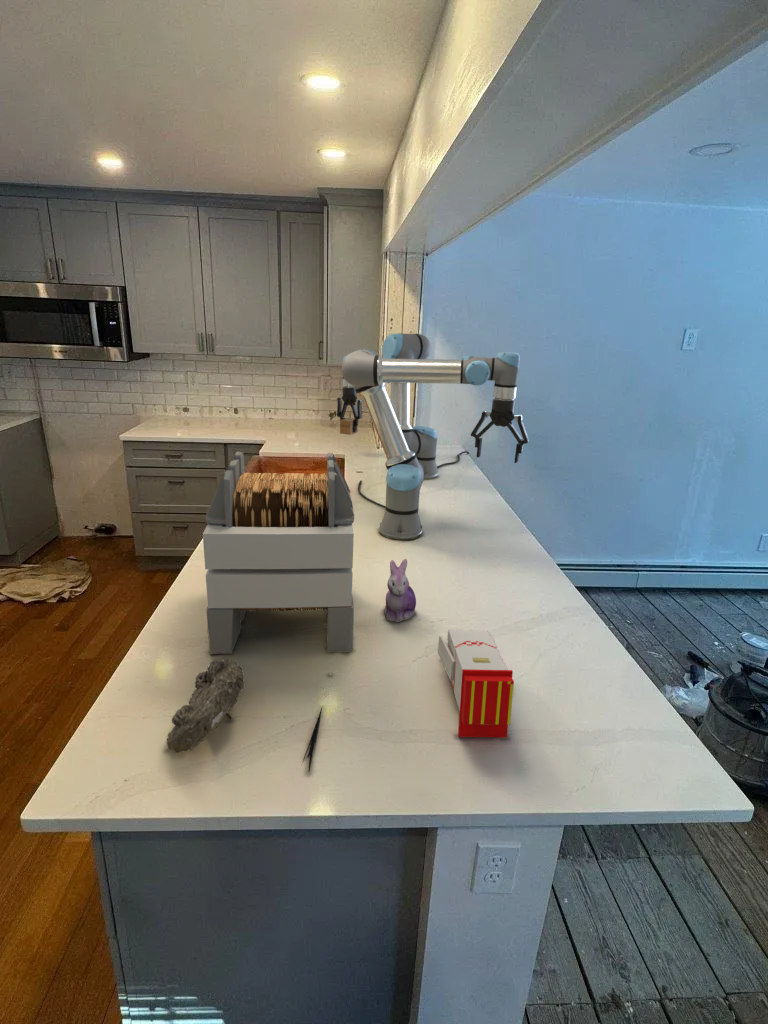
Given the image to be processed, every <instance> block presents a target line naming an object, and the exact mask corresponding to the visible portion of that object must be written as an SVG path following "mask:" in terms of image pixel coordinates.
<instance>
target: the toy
mask: <svg viewBox="0 0 768 1024" xmlns="http://www.w3.org/2000/svg"><path fill="white" fill-rule="evenodd" d="M446 640H447V643H446V641H445V639H444V636H443V635H442V634H439V637H438V646H437V656H438V657H439V659H440V661H441V663H442V666H443V668H444V670H445V672H446V674H447V677H448V679H449V681H450V684H451V687H452V690H453V693H454V697H455V701H456V705H457V708H458V711H459V714H458V715H459V716H458V730H457V731H458V732H457V737H458V738H508V731H509V726H510V725H511V717H512V707H513V697H514V696H513V695H514V684H515V680H514V679H513V673H514V671H513V670H512V669H508V667H507V665H506V662H505V661H504V659H503V658H502V655H501V653H500V651H499V649H498V647H497V643H496V639H495V637H494V635H493V634H491V632H490V631H489V629H467V628H466V629H465V628H463V629H461V628H460V629H459V628H448V630H447V639H446Z"/></svg>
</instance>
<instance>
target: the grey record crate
mask: <svg viewBox="0 0 768 1024" xmlns="http://www.w3.org/2000/svg"><path fill="white" fill-rule="evenodd" d="M244 455H245V454H244V451H242V452H241V451H236V452H235V454H234V456H233V458H232V459H230V463H229V465H228V467H227V469H226V470H224V473H223V475H222V478H221V479H220V482H219V484H218V487H217V489H216V491H215V494H214V495H213V497H212V500H211V502H210V505H209V507H208V509H207V511H206V515H205V523H206V524H207V525H206V527H205V529H204V531H203V533H202V543H203V558H204V569H205V570H206V573H205V584H206V587H205V588H206V598H207V599H206V601H207V607H206V623H207V634H208V641H209V642H208V643H209V650H208V653H209V655H216V654H217V655H218V654H221V655H222V654H223V655H226V654H227V655H228V654H230V655H231V654H232V653H233V650H234V648H235V647H236V643H237V641H238V638H239V636H240V634H241V630H242V626H241V625H242V623H241V622H243V621H244V618H245V615H246V612H272V611H273V612H279V611H280V612H284V611H286V612H288V611H289V612H291V611H292V612H293V611H294V612H295V611H303V612H304V611H322V610H323V611H326V636H327V637H326V641H327V645H326V646H327V652H329V653H330V652H332V653H333V652H343V653H349V652H351V651H352V650H354V617H355V616H354V614H355V607H354V598H353V575H354V573H353V566H354V563H353V562H354V537H355V536H354V535H355V532H354V527H353V524H354V522H355V511H354V506H353V505H354V504H353V500H352V495H351V489H350V487H349V485H348V483H347V480H346V479H345V476H344V474H343V472H342V470H341V467H340V465H339V463H338V461H337V459H336V457H335V455H334V453H333V452H327V453H326V456H327V457H326V468H327V469H326V473H320V474H318V473H307V474H306V473H303V472H302V473H299V472H298V473H297V472H294V473H293V472H292V473H291V472H290V473H288V472H283V473H276V472H273V473H271V472H263V473H262V472H259V473H258V472H253V473H252V472H245V468H246V467H245V456H244Z"/></svg>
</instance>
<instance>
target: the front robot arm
mask: <svg viewBox="0 0 768 1024" xmlns="http://www.w3.org/2000/svg"><path fill="white" fill-rule="evenodd" d="M345 356H346V358H345V359H344V361H343V360H342V363H341V374H342V378H343V377H344V378H345V380H346V381H347V382H348V383H349V384H351V385H353V386H354V388H355V391H356V393H357V395H358V396H360V397H362V400H363V401H364V404H365V407H366V410H367V411H368V413H369V417H370V419H371V421H372V422H371V423H372V424H373V426H374V429H375V432H376V434H377V436H378V439H379V442H380V444H381V446H382V449H383V451H384V454H385V457H386V461H385V463H384V465H385V467H386V476H385V482H386V485H385V504H381V503H379V502H377V501H374V500H373V499H371V498H369V497H368V496H366V495H364V494H363V493H362V491H361V484H362V482H363V481H362V480H359V483H358V485H357V492H358V494H359V495H360V496H361V497H362V498H364V499H365V500H367V501H369V502H370V503H372V504H374V505H377V506H379V507H382V508H384V513H383V515H382V519H381V522H379V526H378V533H379V534H380V535H381V536H382V537H385V538H387V539H389V540H395V541H410V540H415V539H418V538H420V537H421V536H422V535H423V525H422V524H421V518H420V515H419V507H420V506H419V505H420V504H419V503H420V494H421V493H420V492H421V489H422V485H423V483H424V481H425V479H424V470H423V467H422V465H421V464H420V463H419V462H418V460H417V457H416V455H415V453H414V452H413V451H410V450H409V448H408V446H407V443H406V441H405V438H404V435H403V433H402V430H401V428H400V425H399V423H398V420H397V417H396V415H395V412H394V410H393V407H392V405H391V398H390V397H389V394H388V392H387V389H386V385H387V384H391V383H410V384H449V385H451V384H453V385H454V384H456V385H457V384H458V385H460V384H461V385H472V386H476V387H477V386H482V385H484V384H485V383H486V382H487V381H491V382H492V381H494V383H493V394H492V397H493V399H492V401H491V402H492V403H491V411H487V410H484V411H482V412H481V416H480V418H479V420H478V421H477V423H476V425H475V427H474V428H473V430H472V431H471V433H470V436H471V437H472V438H474V439H475V440H474V448H475V449H476V458H480V457H481V455H482V445H483V438H482V436H483V435H484V434H485V433H486V432H488V430H489V429H491V428H492V427H493V425H494V426H495V427H502V428H505V427H507V428H508V430H509V431H510V432H511V434H512V435H513V437H514V438H515V440H516V441H517V444H516V446H515V454H514V464H517V463H518V462H519V457H520V454H522V453H523V450H524V444H528V443H530V438H529V435H528V433H527V430H526V429H527V428H526V427H525V425H524V419H523V417H524V416H523V414H517V415H515V414H514V413H515V404H516V401H515V399H516V397H517V387H518V381H519V380H518V378H519V371H520V358H521V355H520V354H519V353H518V352H513V351H499V352H497V355H496V357H487V356H486V357H483V356H473V355H468V356H465V355H464V356H462V357H461V359H434V358H432V359H430V358H429V359H428V358H426V359H384V358H383V355H381V354H380V355H379V354H378V353H377V352H375V351H374V350H373V349H370V348H369V349H368V348H361V349H356V350H355V351H352V352H350V353H348V354H347V355H345ZM487 418H490V419H491V421H490V422H489V423H488V424H487V425H486V426H485V427H483V428H482V430H481V431H479V430H480V429H481V427H482V425H483V423H484V422H485V420H486V419H487ZM513 420H515V422H516V423H517V425H518V428H519V431H520V433H519V432H518V430H517V428H516V427H515V426H514V423H513Z"/></svg>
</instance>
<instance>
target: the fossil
mask: <svg viewBox="0 0 768 1024" xmlns="http://www.w3.org/2000/svg"><path fill="white" fill-rule="evenodd" d="M243 670H244V669H243V667H242V665H240V664H237V662H236V661H235V660H234V659H232V658H231V659H227V658H226V659H224V660H223V661H222V660H217V659H212V660H211V661H210V663H209V665H208V666H207V671H201V672H199V673H198V674H197V675H196V676H195V680H194V684H195V685H194V687H195V689H194V690H193V693H192V694H191V697H190V698H189V700H188V704H184V705H182V706H181V707H180V709H177V710H176V711H175V713H174V715H173V716H172V718H171V723H172V724H173V727H172V730H171V731H170V732H168V734H167V738H166V741H167V742H166V745H167V749H168V750H169V751H173V752H174V753H176V754H178V753H182V752H188V751H189V752H192V751H193V750H195V748H196V747H197V746H199V744H200V743H201V742H203V741H204V740H205V739H206V738H207V737H208V736H209V735H210V734H211V733H212V732H214V730H215V729H217V727H218V726H219V724H220V722H221V721H222V720H223V719H224V718H225V716H226V717H227V719H229V720H233V717H232V715H230V714H229V710H230V709H231V708H234V706H235V704H236V703H237V702H238V699H239V697H240V695H241V693H242V691H243V690H245V689H244V688H245V675H244V671H243Z"/></svg>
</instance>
